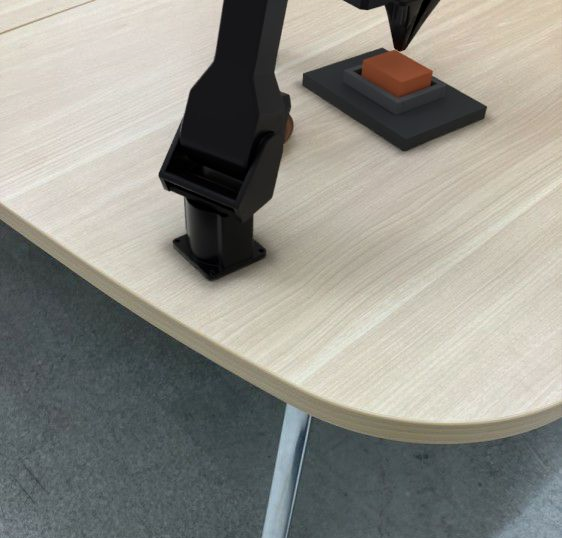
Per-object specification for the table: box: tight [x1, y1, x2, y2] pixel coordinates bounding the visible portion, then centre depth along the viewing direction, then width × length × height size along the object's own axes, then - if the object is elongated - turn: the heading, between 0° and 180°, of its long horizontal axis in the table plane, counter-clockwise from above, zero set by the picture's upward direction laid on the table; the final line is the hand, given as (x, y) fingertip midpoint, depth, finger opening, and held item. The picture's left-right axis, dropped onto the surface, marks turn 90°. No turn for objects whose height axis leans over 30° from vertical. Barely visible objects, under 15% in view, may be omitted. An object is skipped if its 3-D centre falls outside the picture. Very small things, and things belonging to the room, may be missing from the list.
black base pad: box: [301, 47, 488, 152], centre depth 93 cm, size 18×13×3 cm
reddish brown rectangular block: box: [361, 49, 434, 99], centre depth 91 cm, size 6×5×3 cm
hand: (399, 49), depth 89 cm, fingers closed
